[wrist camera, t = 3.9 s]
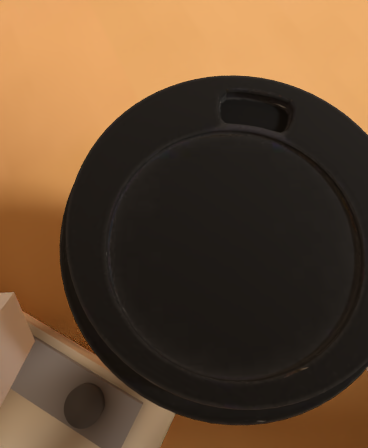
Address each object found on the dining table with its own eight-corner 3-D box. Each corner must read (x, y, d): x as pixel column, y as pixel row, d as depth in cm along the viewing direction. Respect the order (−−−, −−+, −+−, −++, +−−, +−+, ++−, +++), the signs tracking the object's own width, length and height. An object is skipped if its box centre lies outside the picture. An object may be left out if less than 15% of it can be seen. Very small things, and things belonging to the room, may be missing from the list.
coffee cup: (245, 204, 22) (344, 19, 8) (288, 327, 20) (550, 378, 5) (128, 235, 22) (10, 95, 8) (156, 366, 19) (59, 532, 5)
